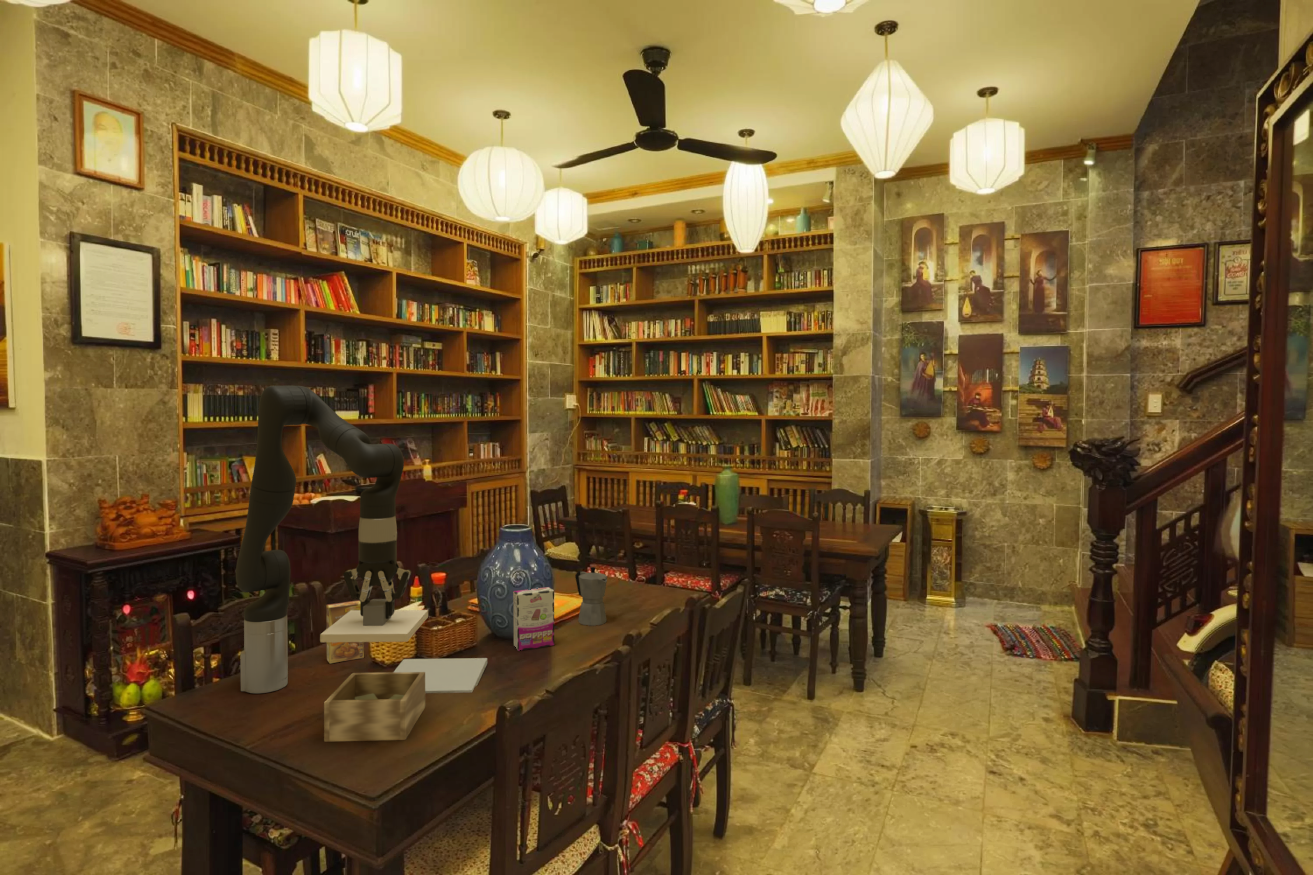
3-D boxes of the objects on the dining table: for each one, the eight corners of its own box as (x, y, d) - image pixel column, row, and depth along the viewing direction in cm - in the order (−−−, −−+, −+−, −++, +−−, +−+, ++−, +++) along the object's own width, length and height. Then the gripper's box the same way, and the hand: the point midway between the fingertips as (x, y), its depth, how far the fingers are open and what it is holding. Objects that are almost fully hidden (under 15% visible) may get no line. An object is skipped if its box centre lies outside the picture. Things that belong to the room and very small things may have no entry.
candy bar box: (549, 640, 209) (549, 586, 209) (554, 645, 205) (555, 590, 204) (512, 646, 204) (512, 590, 204) (517, 651, 200) (517, 594, 199)
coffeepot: (616, 623, 228) (617, 568, 227) (594, 629, 221) (594, 572, 220) (586, 613, 239) (587, 560, 238) (564, 618, 232) (564, 564, 231)
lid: (320, 642, 141) (320, 614, 141) (350, 617, 158) (350, 592, 158) (407, 641, 142) (407, 614, 142) (428, 616, 159) (428, 592, 159)
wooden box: (324, 746, 142) (324, 702, 142) (352, 712, 158) (352, 672, 158) (405, 744, 143) (405, 700, 143) (425, 711, 159) (425, 671, 159)
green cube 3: (358, 721, 151) (358, 703, 151) (354, 715, 154) (354, 697, 154) (378, 717, 153) (378, 699, 153) (373, 710, 157) (373, 693, 156)
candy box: (329, 664, 188) (329, 607, 187) (326, 659, 191) (325, 603, 190) (364, 658, 193) (364, 602, 192) (360, 653, 196) (360, 599, 196)
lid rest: (377, 697, 166) (377, 691, 166) (403, 664, 188) (403, 659, 188) (472, 696, 168) (472, 690, 168) (487, 663, 190) (487, 657, 190)
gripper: (336, 540, 145) (336, 623, 146) (407, 541, 146) (406, 622, 147) (349, 534, 152) (349, 612, 153) (416, 534, 153) (416, 612, 154)
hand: (377, 617), depth 150 cm, fingers closed on lid, 4 cm apart
